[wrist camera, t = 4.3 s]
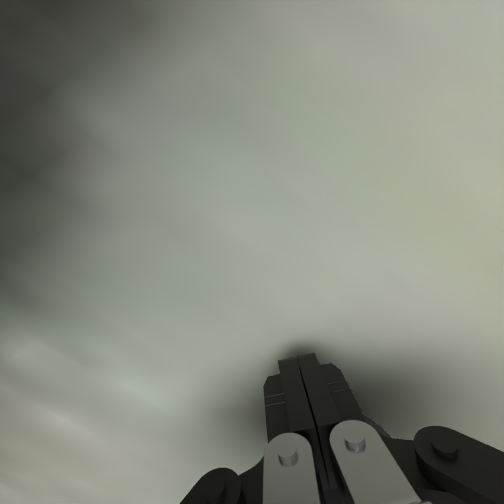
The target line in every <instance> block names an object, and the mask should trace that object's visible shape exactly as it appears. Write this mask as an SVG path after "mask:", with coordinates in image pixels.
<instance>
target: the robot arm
mask: <svg viewBox="0 0 504 504" xmlns="http://www.w3.org/2000/svg"><path fill="white" fill-rule="evenodd" d="M297 360H298V364H297V361H296V357H293V358H289V359H284V360H279V361H278V363H279V369H280V374H278V375H273V376H268V378H267V380H266V382H265V384H264V397H265V411H266V424H267V436H268V445H267V447H266V449H265V452H264V456H263V458H262V459H261V461H260V462H259V463H258V464H257V465H255V466H254V467H253V468H251V469H249V470H248V471H246V472H244V473H242V474H240V475H239V476H238V475H237V474H236V473H235V472H234V471H233V470H231V469H228V468H217V469H214V470H211V471H209V472H208V473H206V474H205V475H204V476H203V477H201V478H200V480H199V481H198V482H197V483H196V484H195V486H194V487H193V488H192V489H191V490H190V492H189V493H188V494H187V495H186V497H185V498H184V499H183V500H182V501H181V503H180V504H326V501H325V497H324V492H323V491H328V490H329V489H328V484H327V479H326V475H325V470H326V473H327V477H328V481H329V484H330V488H331V490H332V489H337V488H338V490H339V493H340V496H341V499H342V503H343V504H504V452H502V451H500V450H498V449H495V448H493V447H491V446H489V445H486V444H484V443H482V442H480V441H477V440H475V439H473V438H470V437H468V436H466V435H464V434H461V433H459V432H457V431H455V430H452V429H450V428H446V427H441V426H429V427H425V428H423V429H421V430H419V431H418V432H417V433H416V435H415V437H414V441H413V440H402V439H394V438H389V437H386V436H384V435H381V434H379V433H378V432H377V431H376V430H375V429H374V428H373V427H372V426H370V425H369V424H368V423H367V422H366V420H365V418H364V416H363V414H362V412H361V410H360V408H359V406H358V404H357V402H356V400H355V398H354V396H353V394H352V392H351V390H350V389H349V386H348V384H347V382H346V381H345V378H344V376H343V374H342V372H341V370H340V369H338V368H337V367H336V366H334V365H333V364H331V363H329V364H324V365H319V363H318V360H317V358H316V355H315V353H312V354H307V355H302V356H298V357H297ZM298 365H299V368H298ZM299 369H300V371H299ZM300 374H301V375H300ZM321 455H322V456H321ZM322 459H323V461H322ZM323 462H324V466H325V470H324V466H323Z"/></svg>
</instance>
